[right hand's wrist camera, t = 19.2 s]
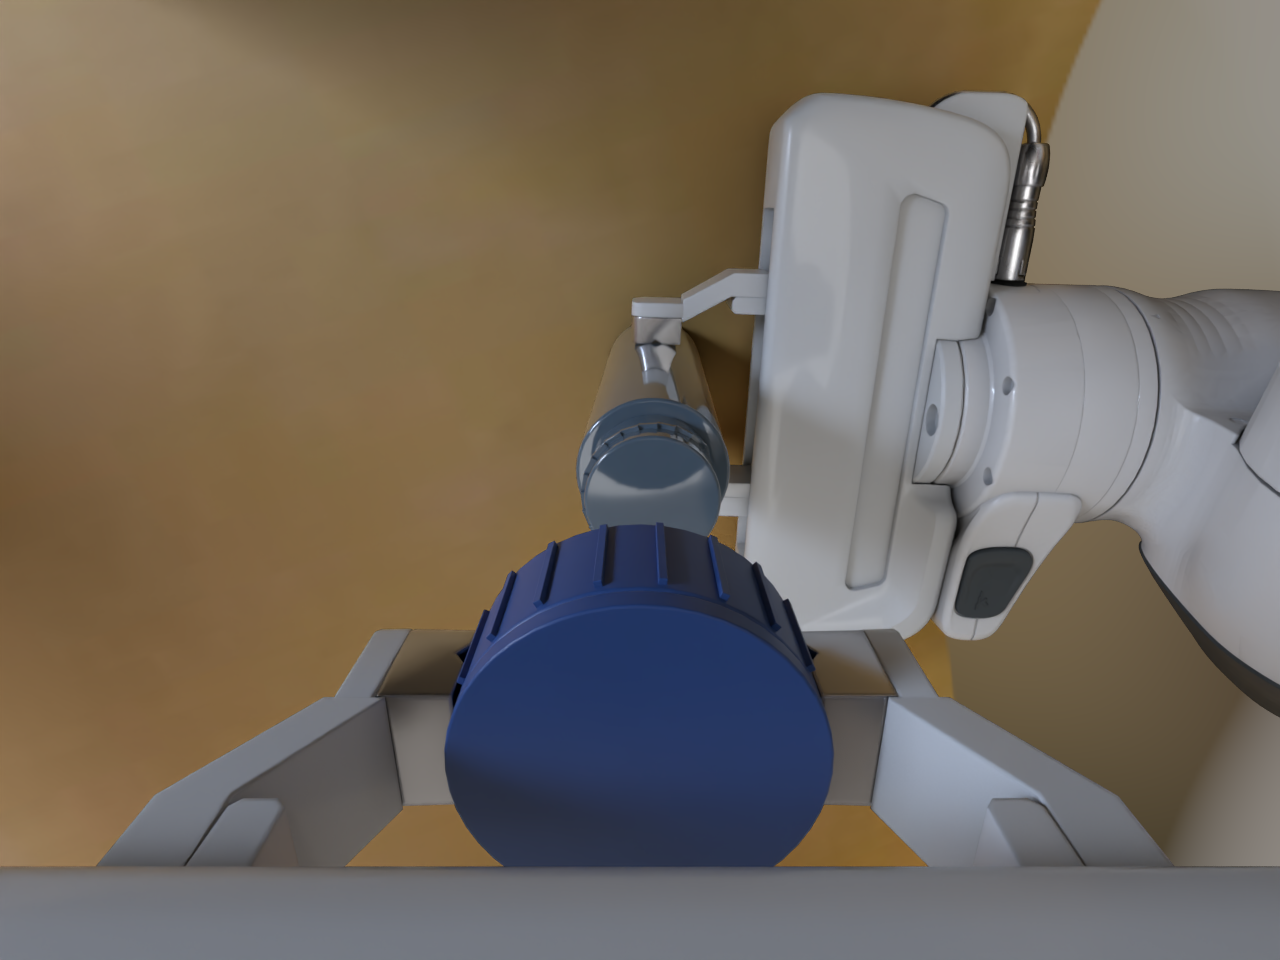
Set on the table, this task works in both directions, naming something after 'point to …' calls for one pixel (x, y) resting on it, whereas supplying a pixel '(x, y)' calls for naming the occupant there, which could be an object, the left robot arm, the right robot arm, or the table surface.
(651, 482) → the jar
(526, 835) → the lid
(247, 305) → the table surface
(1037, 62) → the table surface
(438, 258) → the table surface
